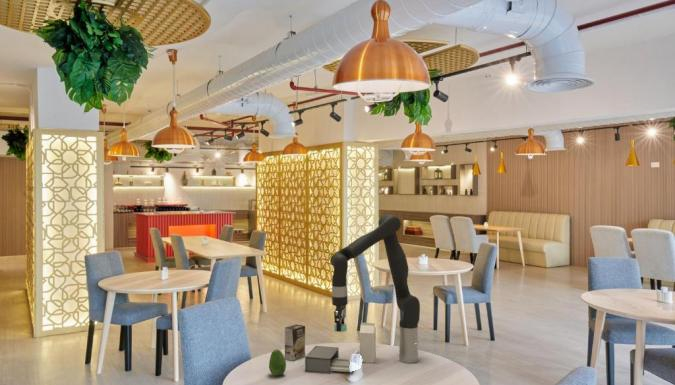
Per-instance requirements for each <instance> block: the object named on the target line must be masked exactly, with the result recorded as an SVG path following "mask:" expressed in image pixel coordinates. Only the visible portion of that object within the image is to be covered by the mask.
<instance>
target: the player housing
mask: <svg viewBox="0 0 675 385" xmlns="http://www.w3.org/2000/svg"><path fill="white" fill-rule="evenodd" d="M339 350H340V349H339V347H338V346H337V347H336V346H324V345H322V346H321V345H314V347H313V348H312V349H311V350H310V351H309V352H308V353H307V355H305V357H304V360H305V361H304V365H305V366H304V373H305V372H306V373H307V372H308V373H316V374H318V373H319V374H327V375H328V374H329V375H330V374H331V372H332V371H331V370H330V363H331V362H332V360H333V359H334V358H340V356H339V352H340V351H339Z"/></svg>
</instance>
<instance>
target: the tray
mask: <svg viewBox="0 0 675 385" xmlns="http://www.w3.org/2000/svg"><path fill="white" fill-rule="evenodd" d="M353 354H359V355H360V349H356V350H355V351H354V352H353ZM351 358H352V356H351V357H350V358H342V357H341V358H340V357H339V358H334V359H333V360H332V362H331V363H330V370H331V372H332V371H333V372H344V373H349V372H350V371H349V365H350V361H351Z"/></svg>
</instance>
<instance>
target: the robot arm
mask: <svg viewBox="0 0 675 385" xmlns="http://www.w3.org/2000/svg"><path fill="white" fill-rule="evenodd" d="M377 224H378V226H377V227H376V228H375V229H373V230H371V231H370V232H368V233H366V234H363V235H362V236H360V237H358V238H356V239H355V240H354V241H352V242H351V243H349V244H348V245H346V246H345V247H344V248H341V249H339V250H338V251H336V252H335V253H334V254H332V255H331V257H330V260H329V262H330V264H331V266H333V274H332V277H331V280H332V281H331V285H332V287H331V304H332V306H335V309H334V312H333V316H334V318H333V319H334V324H336V331H335V332H337V331H341V324H345V319H346V317H347V316H346V313H347V312H346V310H347V308H346V307H347V305H348V302H349V300H348V298H349V297H348V285H347V282H348V280H347V275H348V266H349V264H348V263H349V262H348V261H350V260H351V259H355V258H357V257H359V256H360V255H361V254H363V253H364V252H366V251H367V250H368V249H369V248H372V247H373V246H374V245H376V244H377V243H379V242H380V241H382V240H383V243H384V247H385V252H386V258H387V263H388V266H389V270H390V274H391V277H392V282H393V286H394V292H395V300H396V306H397V308H398V309H399V310H400V312H403V313H402V314H403V315H402V319H400V320H399V326H398V328H399V332H398V333H399V334H398V335H399V337H398V338H399V341H398V342H399V343H398V344H399V346H398V347H399V349H398V350H399V354H398V358H399V361H400V362H402V363H408V364H412V363H413V364H415V363H416V362H417V363H418V362H419V361H418V360H419V336H418V333H419V328H418V327H419V322H420V313H421V311H420V310H421V304H420V300H419V298H418V297H416V296H415V295H413V294H411V292H410V290H409V286H408V285H409V284H408V277H409V264H408V259H407V255H406V253H405V252H404V249H403V247H402V246H401V243H400V241H399V239H398V235H397V233H398V231H399V230H400V228H401V224H402V222H401V219H400V218H399V217H398V216H396V215H393V214H387V213H386V214H382V215H381V216H380V217H379V219H378V223H377ZM414 362H415V363H414Z"/></svg>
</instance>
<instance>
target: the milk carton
mask: <svg viewBox="0 0 675 385" xmlns="http://www.w3.org/2000/svg"><path fill="white" fill-rule="evenodd" d="M376 337H377V332H376V323H374V322H360V328H359V356H360V355H361V356H362V359H363V362H362V363H368V364H374V363H375V360H376V356H377V354H376V353H377V352H376V351H377V350H376V348H377V346H376V342H377V340H376V339H377V338H376Z"/></svg>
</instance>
